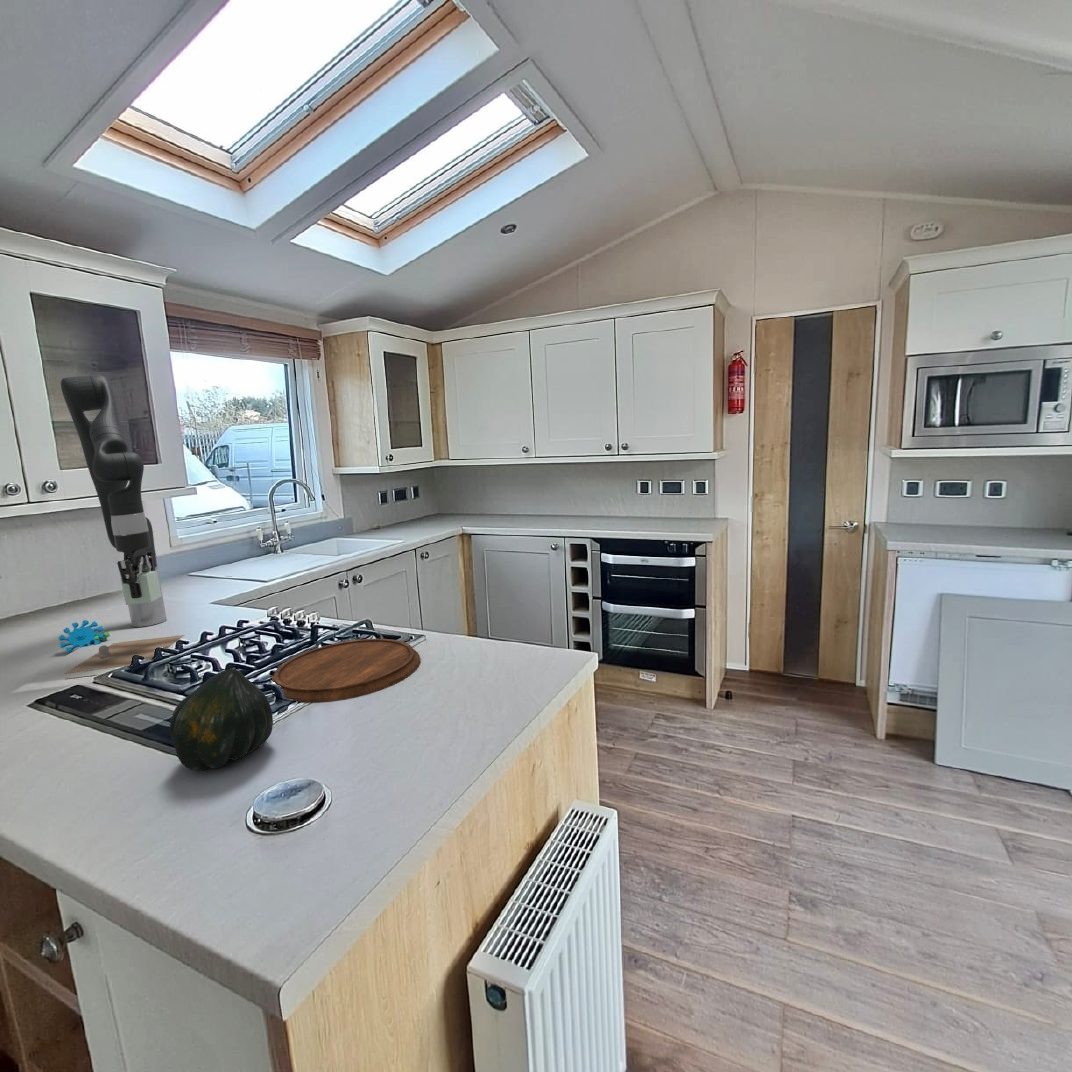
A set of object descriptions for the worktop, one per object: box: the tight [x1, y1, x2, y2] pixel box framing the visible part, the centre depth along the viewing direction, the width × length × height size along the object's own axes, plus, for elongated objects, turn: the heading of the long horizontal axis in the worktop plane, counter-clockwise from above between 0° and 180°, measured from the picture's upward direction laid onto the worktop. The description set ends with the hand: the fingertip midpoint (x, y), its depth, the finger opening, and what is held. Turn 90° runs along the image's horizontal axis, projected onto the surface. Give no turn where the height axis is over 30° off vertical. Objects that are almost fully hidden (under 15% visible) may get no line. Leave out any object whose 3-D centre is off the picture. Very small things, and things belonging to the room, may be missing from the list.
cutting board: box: [271, 638, 421, 704], centre depth 130 cm, size 32×32×3 cm
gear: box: [58, 619, 111, 654], centre depth 161 cm, size 11×6×10 cm
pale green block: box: [120, 571, 163, 606], centre depth 153 cm, size 6×6×7 cm
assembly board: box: [64, 634, 185, 680], centre depth 149 cm, size 22×18×6 cm
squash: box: [169, 667, 274, 771], centre depth 95 cm, size 14×15×15 cm
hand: (143, 594), depth 153 cm, fingers closed on pale green block, 6 cm apart
